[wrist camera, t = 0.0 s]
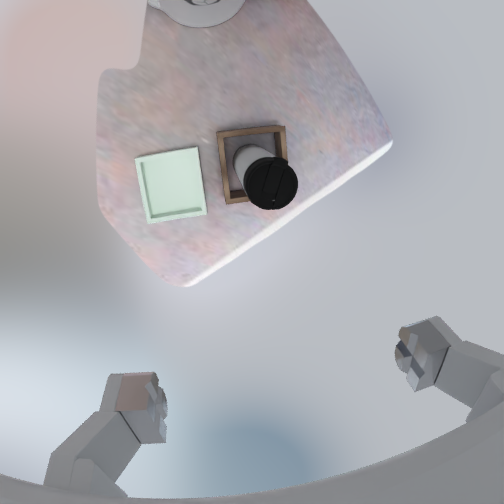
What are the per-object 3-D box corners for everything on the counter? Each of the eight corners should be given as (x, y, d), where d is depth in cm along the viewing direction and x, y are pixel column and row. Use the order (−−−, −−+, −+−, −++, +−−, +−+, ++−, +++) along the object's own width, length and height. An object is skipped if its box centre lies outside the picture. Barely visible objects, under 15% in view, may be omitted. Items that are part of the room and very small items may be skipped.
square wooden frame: (216, 131, 51) (217, 133, 46) (278, 125, 52) (284, 126, 47) (224, 196, 56) (226, 204, 51) (283, 189, 57) (290, 196, 52)
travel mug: (273, 147, 53) (307, 165, 35) (263, 182, 56) (290, 218, 38) (238, 138, 52) (254, 151, 34) (228, 174, 54) (239, 206, 36)
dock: (137, 156, 51) (134, 158, 48) (197, 146, 51) (197, 147, 49) (149, 219, 56) (147, 224, 53) (207, 210, 56) (207, 214, 54)
